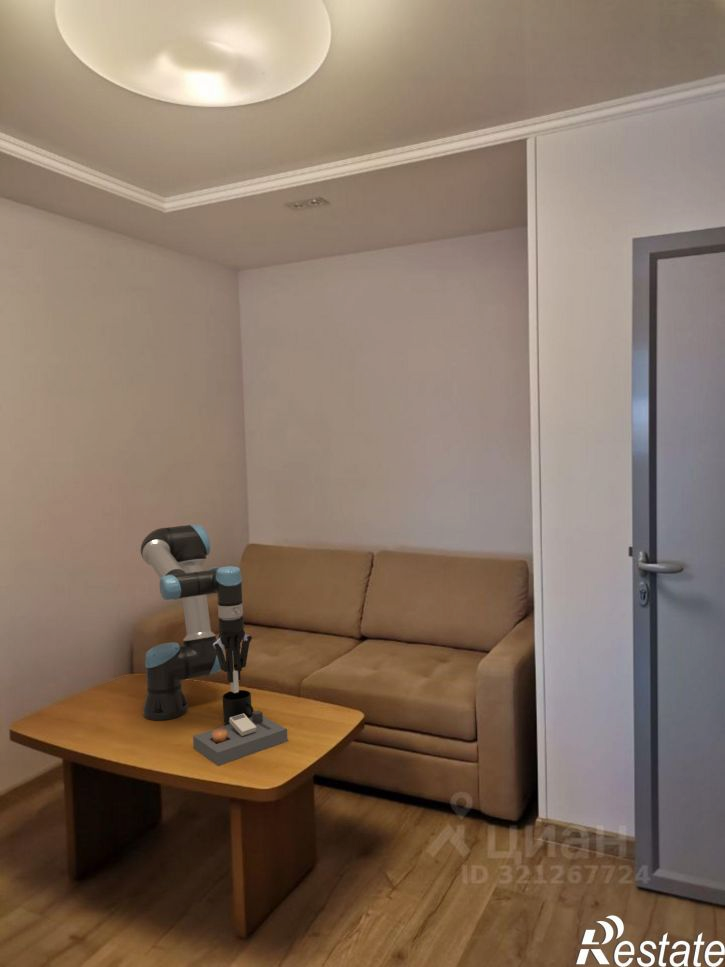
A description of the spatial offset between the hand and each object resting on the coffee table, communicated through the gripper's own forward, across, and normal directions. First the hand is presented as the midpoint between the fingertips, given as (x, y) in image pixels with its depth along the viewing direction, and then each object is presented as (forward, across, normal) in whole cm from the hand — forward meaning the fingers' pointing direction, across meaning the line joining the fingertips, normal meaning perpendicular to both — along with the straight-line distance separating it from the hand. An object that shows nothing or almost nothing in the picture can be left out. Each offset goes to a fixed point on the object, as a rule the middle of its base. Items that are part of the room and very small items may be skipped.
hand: (234, 691), depth 228 cm
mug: (+17, +8, +13) cm, 23 cm away
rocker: (+10, +1, -3) cm, 10 cm away
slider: (+12, +8, 0) cm, 14 cm away
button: (+16, -7, -3) cm, 18 cm away
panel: (+16, 0, -3) cm, 16 cm away
